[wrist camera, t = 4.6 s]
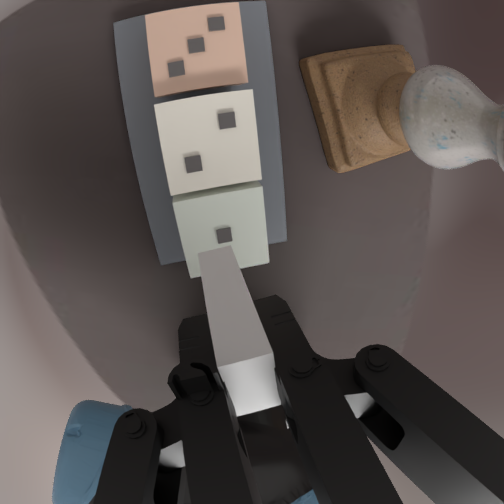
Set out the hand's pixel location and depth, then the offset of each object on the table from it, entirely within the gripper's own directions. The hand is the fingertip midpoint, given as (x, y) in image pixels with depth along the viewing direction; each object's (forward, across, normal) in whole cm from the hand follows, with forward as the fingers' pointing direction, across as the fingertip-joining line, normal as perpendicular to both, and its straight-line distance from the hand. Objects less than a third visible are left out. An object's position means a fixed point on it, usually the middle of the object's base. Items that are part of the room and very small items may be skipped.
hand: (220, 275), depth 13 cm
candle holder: (+13, -16, -6) cm, 22 cm away
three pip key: (+11, -2, -12) cm, 16 cm away
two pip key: (+10, -1, -5) cm, 12 cm away
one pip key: (+11, -1, +1) cm, 11 cm away
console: (+13, -1, -5) cm, 15 cm away
